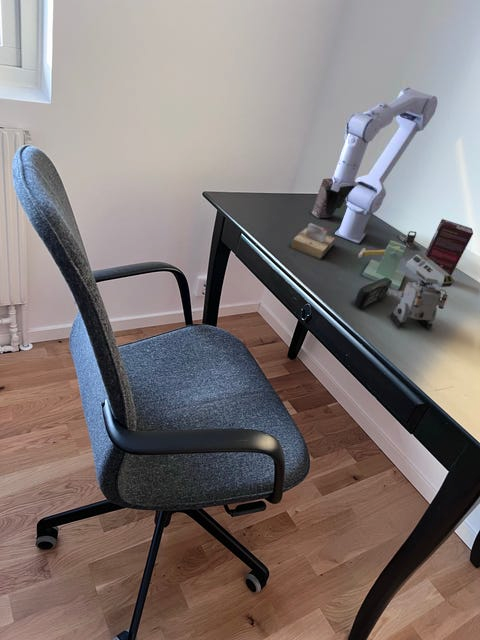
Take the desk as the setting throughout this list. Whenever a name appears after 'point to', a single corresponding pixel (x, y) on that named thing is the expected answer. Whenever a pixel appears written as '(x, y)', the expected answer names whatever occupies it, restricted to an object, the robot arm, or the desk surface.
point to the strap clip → (409, 239)
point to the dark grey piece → (372, 292)
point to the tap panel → (312, 244)
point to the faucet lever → (373, 252)
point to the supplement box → (448, 244)
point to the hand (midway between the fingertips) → (332, 210)
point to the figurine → (421, 292)
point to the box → (322, 200)
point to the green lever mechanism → (387, 265)
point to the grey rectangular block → (316, 232)
